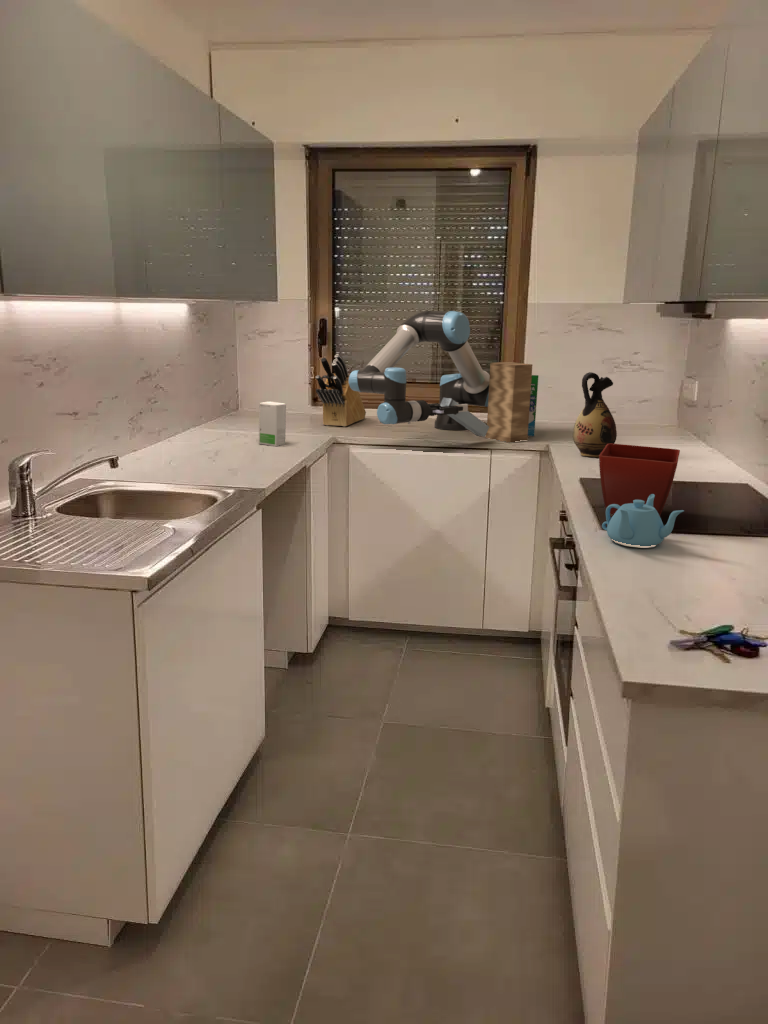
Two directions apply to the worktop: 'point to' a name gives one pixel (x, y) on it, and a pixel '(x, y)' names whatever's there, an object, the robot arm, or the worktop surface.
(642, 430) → the worktop surface
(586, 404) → the ceramic jug
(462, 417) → the foil box
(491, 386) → the oak box
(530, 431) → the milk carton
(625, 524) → the teapot
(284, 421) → the skincare box
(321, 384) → the knife block
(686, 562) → the worktop surface
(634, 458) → the plant pot
